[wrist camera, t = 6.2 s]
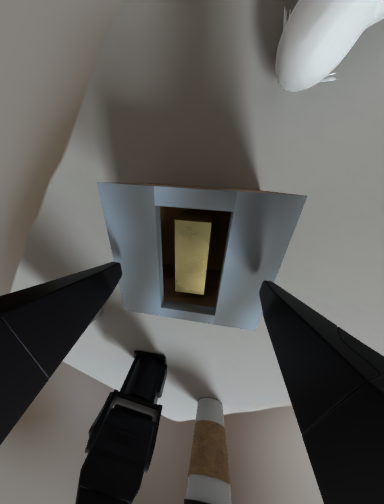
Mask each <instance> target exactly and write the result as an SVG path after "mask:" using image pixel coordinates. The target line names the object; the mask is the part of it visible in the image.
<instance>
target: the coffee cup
mask: <svg viewBox="0 0 384 504" xmlns="http://www.w3.org/2000/svg"><path fill="white" fill-rule="evenodd" d="M193 437H194V438H193V444H192V451H191V458H190V465H189V472H188V476H189V482H188V489H187V497H186V499H184V504H231V495H230V487H231V483H230V473H229V463H228V454H227V445H226V435H225V428H224V418H223V406H222V403H221V402H219V401H218V400H215V399H212V398H201V399H199V401H198V407H197V415H196V423H195V429H194V436H193Z"/></svg>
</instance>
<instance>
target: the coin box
mask: <svg viewBox="0 0 384 504" xmlns="http://www.w3.org/2000/svg"><path fill="white" fill-rule="evenodd" d="M97 185H98V189H99V194H100V199H101V203H102V208H103V212H104V217H105V222H106V226H107V231H108V235H109V240H110V245H111V249H112V254H113V258H114V262H119V263H120V264H121V268H122V277H121V279H120V280H119V286H120V291H121V295H122V300H123V304H124V309H125V310H126V311H133V312H139V313H145V314H151V315H158V316H164V317H170V318H177V319H183V320H189V321H196V322H202V323H208V324H215V325H221V326H227V327H234V328H240V329H246V330H252V331H255V330H256V327H257V325H258V322H259V320H260V317H261V314H262V312H263V311H262V306H261V301H260V296H259V291H260V288H261V285H262V282H263V281H264V280H267V281H272V282H273V283H274V281H275V278H276V276H277V273H278V270H279V268H280V265H281V263H282V260H283V258H284V255H285V252H286V250H287V247H288V245H289V242H290V239H291V237H292V234H293V232H294V229H295V227H296V224H297V221H298V219H299V216H300V214H301V211H302V208H303V206H304V203H305V201H306V198H307V196H303V195H295V194H286V193H278V192H269V191H261V190H245V189H229V188H213V187H197V186H181V185H165V184H144V183H98V182H97ZM187 208H192V209H205V210H212V223H211V232H210V242H209V251H208V260H207V269H206V279H205V288H204V295H201V294H194V293H186V292H179V291H175V219H176V218H178V217H179V216H180V215H181V214H182V213H183V212H184V211H185V210H186V209H187Z"/></svg>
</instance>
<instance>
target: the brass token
mask: <svg viewBox="0 0 384 504" xmlns="http://www.w3.org/2000/svg"><path fill="white" fill-rule="evenodd" d="M211 223H212V210H205V209H192V208H187V209H186V210H185V211H184V212H183V213H182V214H181V215H180V216H179V217H178V218H176V219H175V291H179V292H186V293H194V294H201V295H204V288H205V279H206V269H207V260H208V251H209V242H210V232H211Z"/></svg>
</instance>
